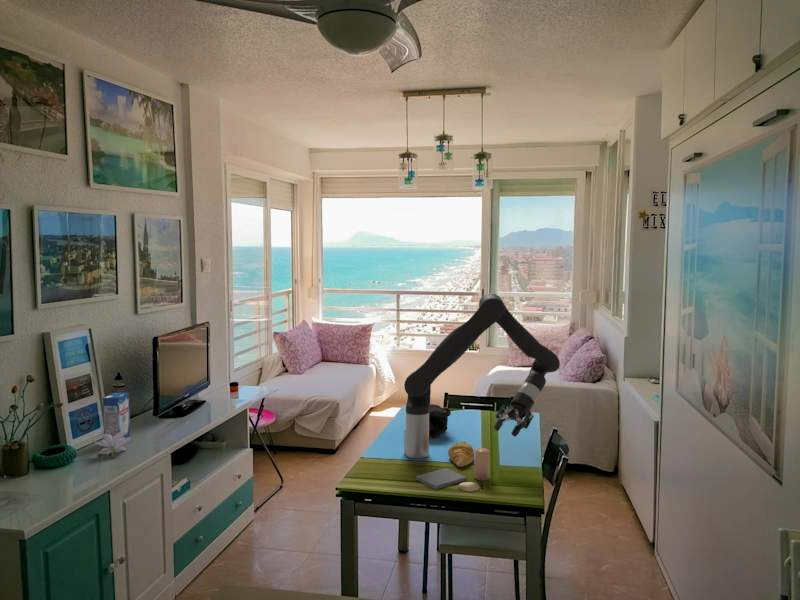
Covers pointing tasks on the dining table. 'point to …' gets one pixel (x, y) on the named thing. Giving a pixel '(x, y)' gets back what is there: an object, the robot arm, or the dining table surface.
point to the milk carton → (116, 414)
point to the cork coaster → (469, 486)
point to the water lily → (113, 443)
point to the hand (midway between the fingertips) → (504, 432)
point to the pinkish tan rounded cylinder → (481, 464)
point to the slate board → (441, 478)
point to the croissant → (461, 454)
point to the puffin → (437, 420)
